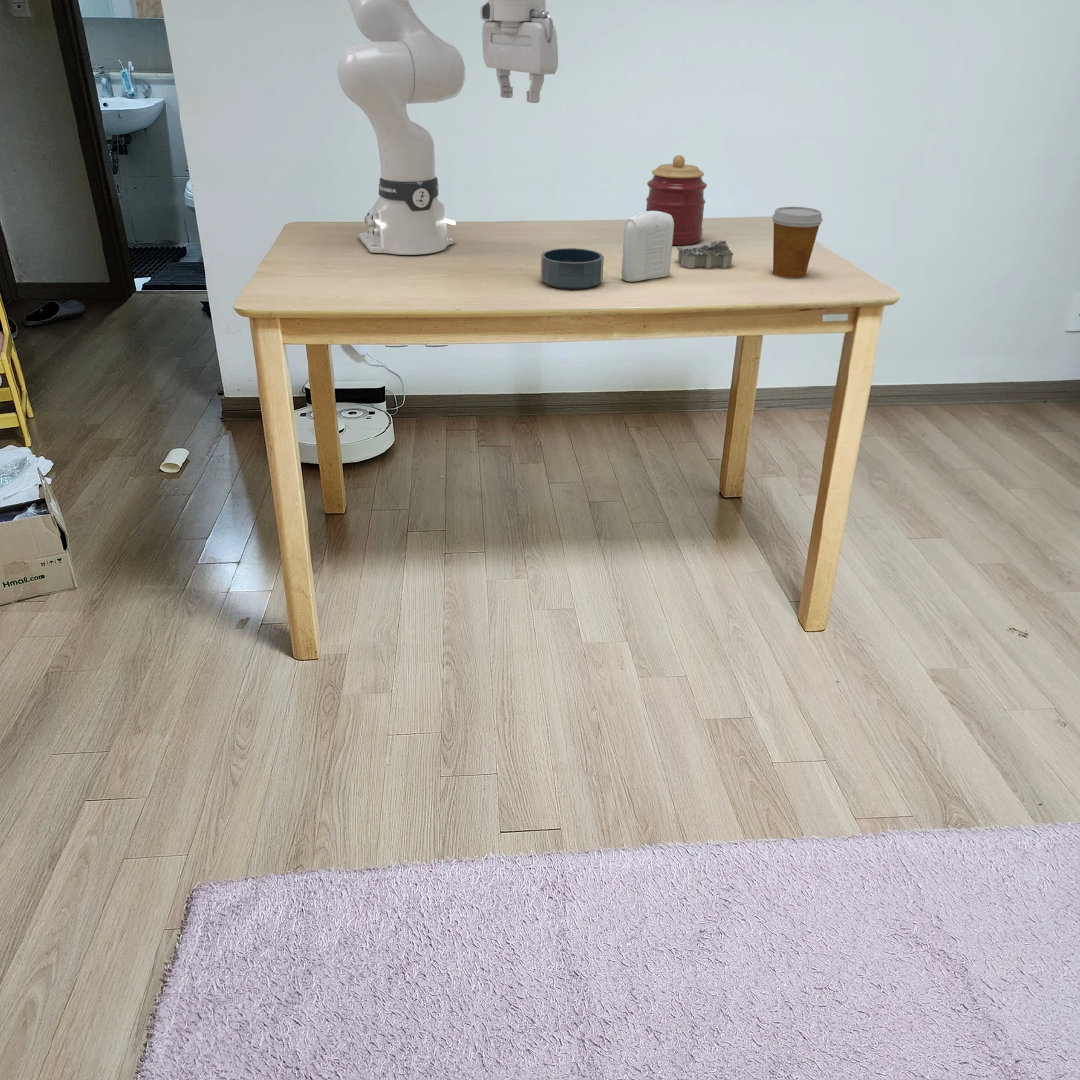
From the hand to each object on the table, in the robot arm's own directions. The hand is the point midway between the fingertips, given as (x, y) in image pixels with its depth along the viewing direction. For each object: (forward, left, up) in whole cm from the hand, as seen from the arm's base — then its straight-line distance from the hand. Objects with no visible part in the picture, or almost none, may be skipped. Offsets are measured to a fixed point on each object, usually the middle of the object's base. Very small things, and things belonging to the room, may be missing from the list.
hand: (519, 100), depth 164 cm
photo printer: (+11, +22, -31) cm, 40 cm away
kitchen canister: (-13, +47, -31) cm, 58 cm away
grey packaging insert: (+8, +39, -31) cm, 51 cm away
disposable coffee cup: (+22, +49, -31) cm, 62 cm away
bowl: (+7, +7, -31) cm, 33 cm away
